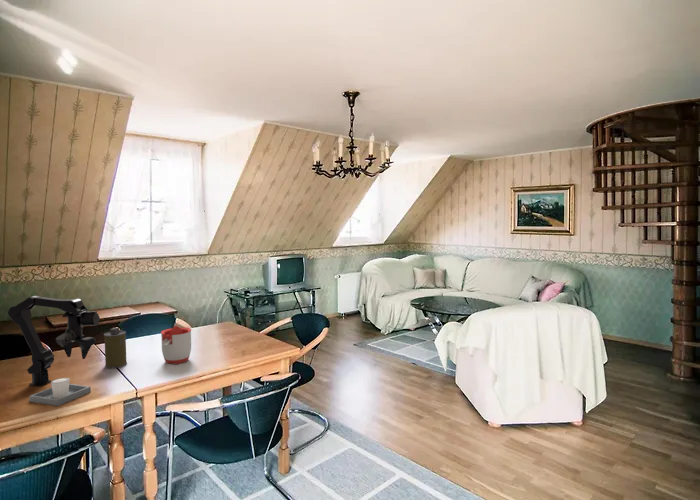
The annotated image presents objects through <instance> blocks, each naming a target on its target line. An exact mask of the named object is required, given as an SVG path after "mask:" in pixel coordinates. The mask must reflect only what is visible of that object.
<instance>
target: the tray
mask: <svg viewBox="0 0 700 500" xmlns="http://www.w3.org/2000/svg"><path fill="white" fill-rule="evenodd" d="M91 389H92V388H91V386H89V385H88V386H87V385H82V384H75V383H69V395H67V396H65V397H62V398H53V392H52V386H51V387H49V388H46V389H44V390H42V391H39V392H36V393H34V394H30V395H29V399H28V401H29V403H35V404H43V405H48V406H53V407H60V406H62V405H64V404H67V403H69V402H71V401H73V400H76V399H77V398H80V397H82V396H85V395H87V394H89V393H91V392H92V390H91Z"/></svg>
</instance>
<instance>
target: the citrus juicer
mask: <svg viewBox="0 0 700 500" xmlns="http://www.w3.org/2000/svg"><path fill="white" fill-rule="evenodd" d="M160 334H161V336H160V337H161V352H162V356H163V359H164V361H165V363H166V364H170V365H171V364H172V365H174V364H176V365H180V364H183V363H185V362H187V361H189V360H190V359H189V358H190V356H191V352H192V329H191V328H189V327H183V326H182V327H181V326H179V325H174V326H173V327H172V328H166V329H164V330H161V331H160Z"/></svg>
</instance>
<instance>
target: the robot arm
mask: <svg viewBox="0 0 700 500" xmlns="http://www.w3.org/2000/svg"><path fill="white" fill-rule="evenodd" d="M36 306H38V307H39V306H40V307H45V308H46V307H47V308H53V309H59V310H61V311H62V312H65V313H64V314H63V315H62V318H66V319H67V327H66V328H65V330H64V333H62V334H60V335H58V336H57V337H56V338H55V344H57V345H58V346H61V347H62V349H63V350H64V352H65V354H66V357H67V358H71V356H72V351H73V343H78V346H77V347H78V348H79V349H80V352H81V358H82V360H85V359H86V358H87V356H88V353H89V351H90V349H91V348H92V346H93V345H95V344H96V343H97V341H96V338H94V337H92V336H87V337H85V336H86V335H85V334H83V330H84V329H85V326H93V327H94V326H98V325H99V323H100V320H101V319H100V318H101V317H100V316H99V313H98V311H97V310H93V311H89V309H88V308H87V307H86V306H85V304H84V302H83V301H82V299H80V298H66V299H65V298H64V299H62V298H61V299H60V298H54V297H47V296H46V297H45V296H39V295H33V296H29V297H27V298H25V300H23V301H21V302H19V303H18V304H16V305H13V306H11V307H10V308H9V309H8V311H7V316H8V317H9V318H10V319H11V321H12V322H13V323H15V324H16V325H18V327H19V330H20V331H21V333H22V334H23V335H22V336H24V339H25V341H26V343H27V345H28V347H29V349H30V351H31V363H32V364H31V365H30V366H29V367H28V368H27V373H28V374H31V377H32V378H31V381H32V382H30V383H29V384H28V385H29V386H36V387H41V386H43V385H47V384H49V383H51V381H52V379H51V380H50V379H49V377H50V376H49V370H48V369H50V368H51V366H52V365H53V364H54V361H55V358H54V357H55V355H54V354H53V351H52V349H51V348H49V349H47V348H45V347H44V345H43V342H42V341H41V339H40V337H39V335H38V333H37V329H35V327H34V324H33V323H32V312H31V310H33V309H34V308H35V307H36Z"/></svg>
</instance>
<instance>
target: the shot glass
mask: <svg viewBox="0 0 700 500" xmlns="http://www.w3.org/2000/svg"><path fill="white" fill-rule="evenodd" d="M50 384H51V387H52V392H53V398H62V397H65V396H67V395H69V384H70V378H69V377H60V378H56V379H54V380H51V382H50Z"/></svg>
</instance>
